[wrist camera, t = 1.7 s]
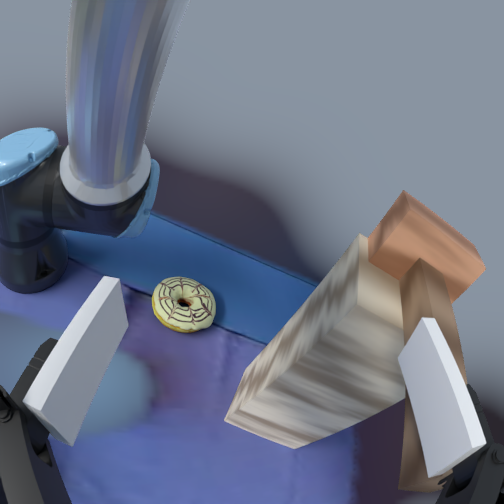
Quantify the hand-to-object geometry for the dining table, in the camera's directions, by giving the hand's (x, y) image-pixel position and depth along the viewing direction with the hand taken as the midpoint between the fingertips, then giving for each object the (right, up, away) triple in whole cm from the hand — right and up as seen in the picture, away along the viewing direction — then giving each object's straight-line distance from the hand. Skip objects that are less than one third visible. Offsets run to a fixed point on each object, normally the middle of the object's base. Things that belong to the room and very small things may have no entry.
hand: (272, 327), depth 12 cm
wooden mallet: (+11, -4, +7) cm, 14 cm away
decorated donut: (-13, -7, +38) cm, 40 cm away
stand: (+2, -21, +30) cm, 37 cm away
